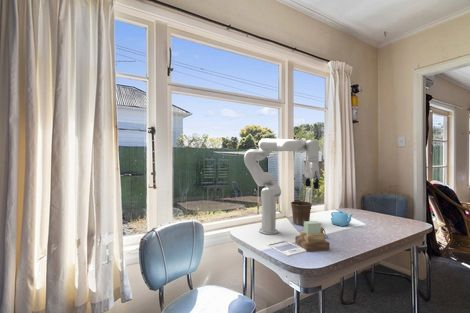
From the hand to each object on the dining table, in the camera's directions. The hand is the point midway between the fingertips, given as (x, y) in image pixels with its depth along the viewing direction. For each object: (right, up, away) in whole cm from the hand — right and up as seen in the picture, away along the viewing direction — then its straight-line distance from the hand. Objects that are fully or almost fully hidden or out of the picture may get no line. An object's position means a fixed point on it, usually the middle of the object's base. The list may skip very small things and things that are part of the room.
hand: (311, 187), depth 154 cm
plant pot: (+4, -33, +39) cm, 51 cm away
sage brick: (-3, -25, -8) cm, 27 cm away
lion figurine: (+5, -34, +9) cm, 35 cm away
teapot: (+35, -34, +37) cm, 61 cm away
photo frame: (-18, -34, -12) cm, 40 cm away
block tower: (-3, -33, -8) cm, 34 cm away
